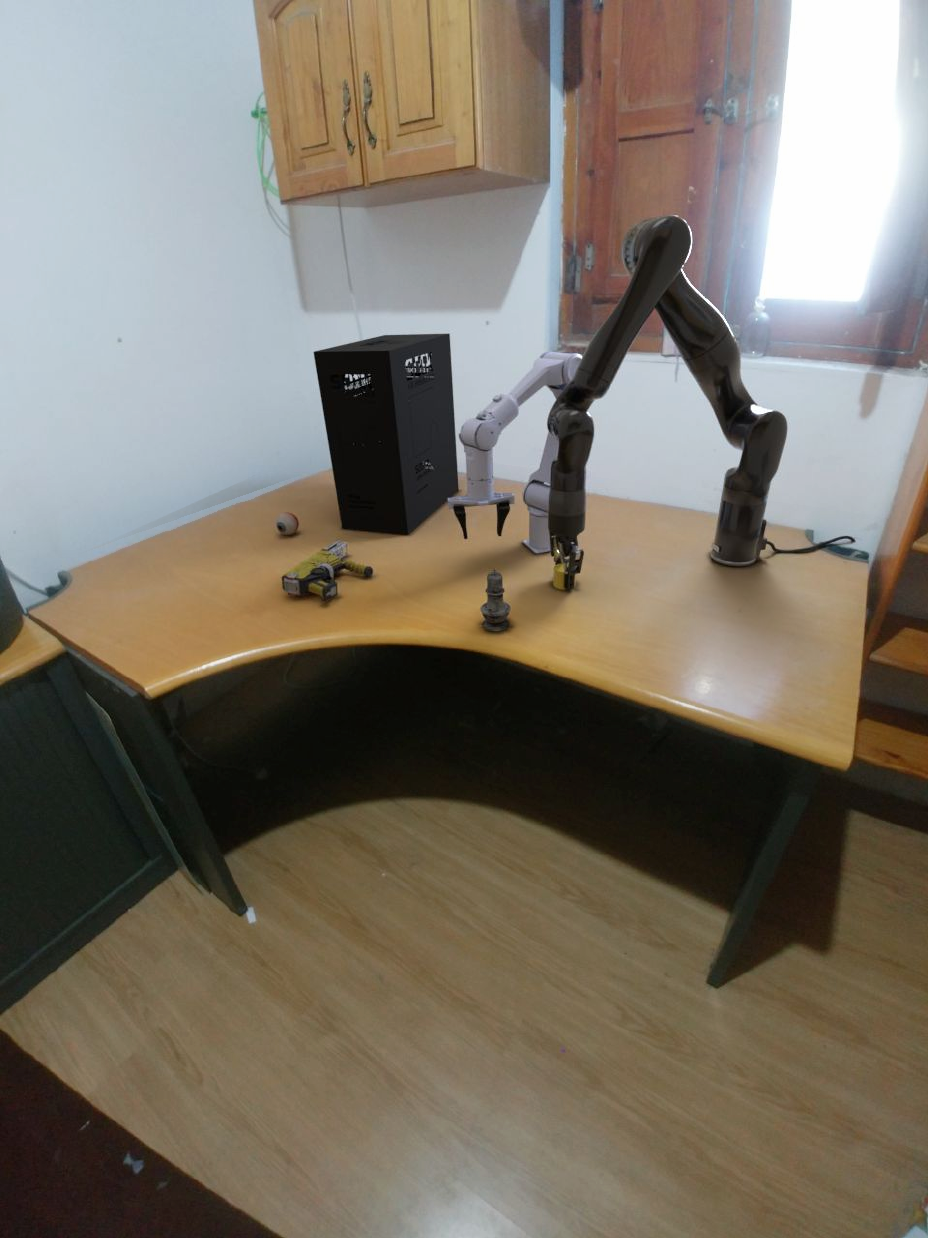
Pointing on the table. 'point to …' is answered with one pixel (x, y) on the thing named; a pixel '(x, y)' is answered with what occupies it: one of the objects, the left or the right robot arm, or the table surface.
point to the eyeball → (287, 523)
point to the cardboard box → (390, 429)
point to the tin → (559, 576)
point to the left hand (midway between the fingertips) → (482, 536)
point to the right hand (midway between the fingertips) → (564, 582)
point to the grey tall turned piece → (495, 604)
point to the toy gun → (321, 572)
